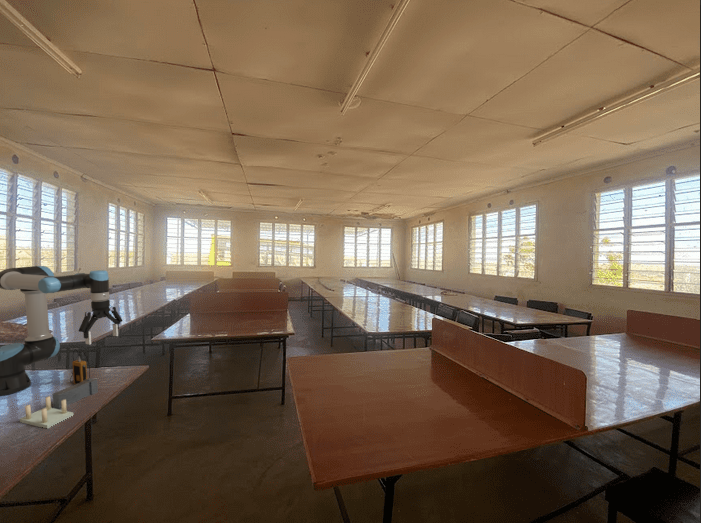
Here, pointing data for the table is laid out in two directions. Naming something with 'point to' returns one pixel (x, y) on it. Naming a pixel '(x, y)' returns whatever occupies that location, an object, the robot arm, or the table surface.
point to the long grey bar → (75, 392)
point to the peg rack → (46, 415)
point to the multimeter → (79, 370)
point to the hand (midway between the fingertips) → (102, 339)
